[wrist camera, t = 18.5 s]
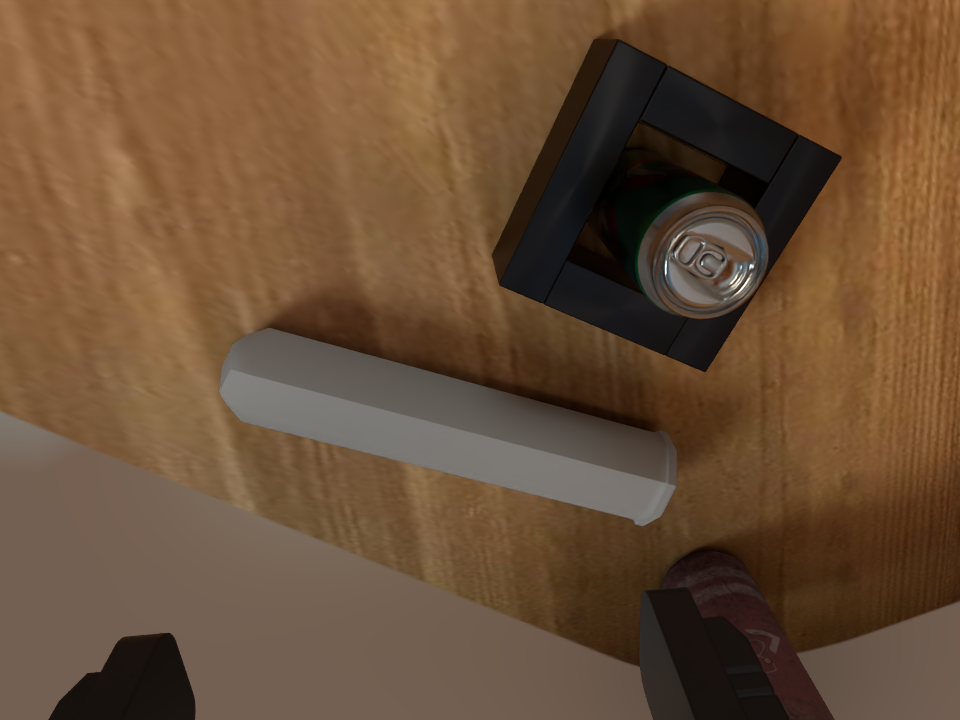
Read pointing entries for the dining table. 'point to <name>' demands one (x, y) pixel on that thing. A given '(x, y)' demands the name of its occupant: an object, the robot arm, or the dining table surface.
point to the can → (749, 625)
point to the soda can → (680, 236)
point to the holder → (589, 163)
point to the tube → (447, 424)
